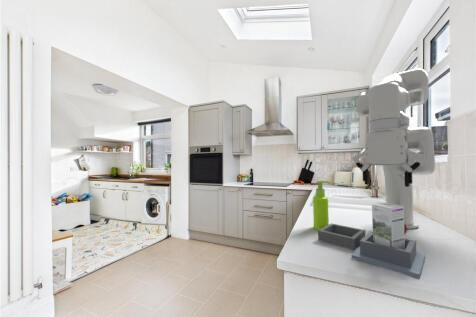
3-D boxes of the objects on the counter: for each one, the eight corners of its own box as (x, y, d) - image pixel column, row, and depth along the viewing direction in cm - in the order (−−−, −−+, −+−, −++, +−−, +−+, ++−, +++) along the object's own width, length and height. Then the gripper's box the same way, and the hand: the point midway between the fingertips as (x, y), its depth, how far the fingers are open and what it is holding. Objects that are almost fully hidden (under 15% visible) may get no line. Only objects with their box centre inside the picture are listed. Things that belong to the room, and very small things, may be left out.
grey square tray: (331, 232, 82) (331, 223, 82) (365, 239, 73) (365, 230, 73) (318, 240, 74) (318, 230, 74) (354, 250, 65) (354, 239, 65)
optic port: (366, 243, 70) (365, 228, 70) (425, 257, 59) (424, 240, 60) (351, 258, 60) (350, 240, 60) (419, 278, 49) (419, 257, 49)
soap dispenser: (332, 231, 83) (330, 181, 83) (313, 229, 85) (312, 181, 85) (330, 227, 88) (329, 180, 89) (313, 225, 91) (312, 180, 91)
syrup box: (406, 256, 58) (404, 205, 58) (392, 260, 56) (390, 207, 56) (385, 248, 63) (384, 201, 64) (372, 252, 61) (371, 203, 62)
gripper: (425, 124, 57) (427, 185, 57) (356, 131, 69) (357, 182, 69) (422, 120, 52) (424, 189, 51) (348, 129, 64) (349, 184, 64)
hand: (386, 184), depth 60 cm, fingers open, 9 cm apart
